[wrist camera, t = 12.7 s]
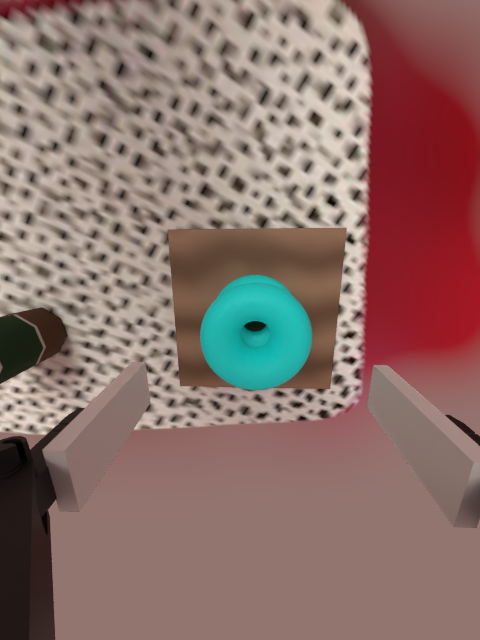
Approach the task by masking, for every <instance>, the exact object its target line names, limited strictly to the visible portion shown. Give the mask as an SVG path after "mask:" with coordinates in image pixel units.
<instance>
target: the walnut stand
mask: <svg viewBox="0 0 480 640" xmlns="http://www.w3.org/2000/svg"><path fill="white" fill-rule="evenodd" d="M346 230H347V228H283V229H182V230H168V237H169V250H170V263H171V275H172V288H173V300H174V313H175V326H176V338H177V351H178V363H179V376H180V386H207V387H236V386H234V385H231V384H229V383H227V382H226V381H224V380H223V379H221V378H220V377H219V376H218V375H217V374H216V373H215V372H214V371H213V370H212V369H211V368H210V366H209V365H208V363H207V361H206V359H205V357H204V355H203V352H202V348H201V342H200V331H201V325H202V321H203V318H204V316H205V314H206V312H207V310H208V308H209V307H210V305H211V304H212V303H213V302H214V301H215V300H216V299H217V297H218V295H219V294H220V292H221V291H222V290H223V289H224V288H225V287H226V286H227V285H228V284H229V283H231V282H232V281H234V280H236V279H238V278H240V277H243V276H248V275H263V276H267V277H270V278H273V279H275V280H277V281H279V282H280V283H281V284H283V285H284V286H285V287H286V288H287V289H288V290H289V291H290V293H291V294H292V296H294V297H295V298H296V299H297V300H298V301H299V303H300V304H301V305H302V306H303V308H304V309H305V311H306V313H307V315H308V317H309V320H310V323H311V328H312V345H311V350H310V353H309V356H308V358H307V360H306V362H305V364H304V365H303V367H302V368H301V369H300V371H299V372H298V373H297V374H296V375H295V376H294V377H292V378H291V379H290V380H288V381H287V382H285V383H283V384H281V385H279V386H276V387H274V388H310V389H330V384H331V375H332V365H333V355H334V346H335V336H336V326H337V317H338V307H339V297H340V288H341V278H342V268H343V259H344V249H345V240H346ZM265 326H266V324H264V323H263V322H260V321H252V322H248V323H247V324H245V325H244V327H245V328H246V329H248V330H250V331H260V330H262V329H263V328H264V327H265Z"/></svg>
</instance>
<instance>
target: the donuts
mask: <svg viewBox="0 0 480 640" xmlns="http://www.w3.org/2000/svg"><path fill="white" fill-rule="evenodd" d="M252 321H260V322H263V323H264V324H266V326H265V327H264V328H263V329H262V330H260V331H250V330H248V329H246V328H245V327H244V325H245V324H247V323H248V322H252ZM200 342H201V348H202V352H203V355H204V357H205V359H206V361H207V363H208V365H209V366H210V368H211V369H212V370H213V371H214V372H215V373H216V374H217V375H218V376H219V377H220V378H221V379H223V380H224V381H226V382H227V383H229V384H231V385H234V386H236V387H239V388H243V389H248V390H265V389H270V388H274V387H276V386H279V385H281V384H283V383H285V382H287V381H288V380H290V379H291V378H292V377H294V376H295V375H296V374H297V373H298V372H299V371H300V369H301V368H302V367H303V365H304V364H305V362H306V360H307V358H308V356H309V353H310V350H311V345H312V328H311V323H310V320H309V317H308V315H307V313H306V311H305V309H304V308H303V306H302V305H301V304H300V303H299V301H298V300H297V299H296V298H295V297H294V296H292V294H291V293H290V291H289V290H288V289H287V288H286V287H285V286H284V285H283V284H281V283H280V282H279V281H277V280H275V279H273V278H270V277H267V276H263V275H248V276H243V277H240V278H238V279H236V280H234V281H232V282H231V283H229V284H228V285H227V286H226V287H225V288H224V289H223V290H222V291H221V292H220V294H219V295H218V297H217V299H216V300H215V301H214V302H213V303H212V304H211V305H210V307H209V308H208V310H207V312H206V314H205V316H204V318H203V321H202V325H201V331H200Z"/></svg>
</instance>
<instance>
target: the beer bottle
mask: <svg viewBox="0 0 480 640" xmlns="http://www.w3.org/2000/svg"><path fill="white" fill-rule="evenodd" d="M66 337H67V334H66V331H65V329H64V326H63V324H62V321H61V319H60V318H59V317H57V316H55V315H54V314H52V313H50V312H49V311H47V310H45V309H44V308H37V309H33V310H28V311H23V312H18V313H13V314H9V315H6V316H2V317H0V384H1V383H3V382H4V381H6V380H8V379H10V378H12V377H14V376H16V375H18V374H19V373H21V372H23V371H25V370H27V369H29V368H31V367H32V366H34V365H36V364H38V363H40V362H42V361H44V360H46V359H47V358H49V357H51V356H53V355H54V354H56V353H58V352H59V351H60V350H61V347H62V345H63V343H64V341H65V339H66Z"/></svg>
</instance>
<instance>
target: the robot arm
mask: <svg viewBox="0 0 480 640" xmlns="http://www.w3.org/2000/svg"><path fill="white" fill-rule="evenodd" d="M149 404H150V396H149V388H148V380H147V372H146V364H145V362H132V363H131V364H130V365H129V366H128V367H127V368H126V369H125V370H124V371H123V372H122V373H121V374H120V375H119V376H118V377H117V378H116V379H115V380H114V381H112V382H111V383H110V384H109V385H108V386H107V387H106V388H105V389H104V390H103V391H102V392H101V393H100V394H99V395H98V396H97V397H96V398H95V399H94V400H93V401H92V402H91V403H90V404H89V405H88V406H87V407H86V408H79V409H77V410H76V411H74V412H72V413H71V414H69V415H68V416H66V417H65V418H64V419H63V420H62V421H61V422H60V423H59V425H57V426H56V427H54V428H53V429H52V431H51V432H49V433H48V434H47V435H46V436H45V437H44V438H43V439H41V440H40V441H39V442H38V443H37V444H36V445H35V446H34V447H33V448H32V449H31V450H30V449H29V445H28V442H27V440H26V438H24V437H21V436H15V437H9V438H5V439H2V440H0V640H55V625H54V602H53V580H52V557H51V537H50V536H51V534H50V516H49V512H48V509H49V508H50V506H51V505H52V504H53V502H54V501H55V500H56V501H57V504H58V508H59V511H66V512H80V511H81V509H82V508H83V506H84V505H85V503H86V502H87V500H88V499H89V497H90V496H91V494H92V492H93V491H94V489H95V488H96V486H97V485H98V483H99V482H100V480H101V478H102V477H103V475H104V474H105V472H106V471H107V469H108V467H109V466H110V465H111V463H112V461H113V460H114V458H115V457H116V455H117V453H118V452H119V451H120V449H121V448H122V446H123V444H124V443H125V441H126V440H127V438H128V437H129V435H130V434H131V432H132V430H133V429H134V427H135V426H136V424H137V423H138V421H139V420H140V418H141V416H142V415H143V413H144V412H145V410H146V409H147V407H148V406H149ZM367 408H368V409H369V411H370V412H371V414H372V415H373V416H374V418H375V419H376V421H377V422H378V423H379V425H380V426H381V427H382V429H383V430H384V432H385V433H386V434H387V436H388V437H389V438H390V440H391V441H392V443H393V444H394V446H395V447H396V448H397V450H398V451H399V452H400V454H401V455H402V457H403V458H404V459H405V461H406V462H407V464H408V465H409V466H410V468H411V469H412V471H413V472H414V473H415V475H416V476H417V478H418V479H419V480H420V482H421V483H422V484H423V486H424V487H425V489H426V490H427V491H428V493H429V494H430V496H431V497H432V498H433V500H434V501H435V502H436V504H437V505H438V507H439V508H440V509H441V511H442V512H443V514H444V515H445V516H446V518H447V519H448V521H449V522H450V523H451V524H452V526H453V527H466V528H476V527H477V524H478V522H479V519H480V436H478V435H477V434H475V432H474V431H472V430H471V429H470V428H469V427H468V426H466V425H465V424H464V423H462V422H461V421H459V420H457V419H455V418H453V417H452V416H450V415H444V414H443V413H441V412H440V411H439V410H438V409H437V408H436V407H435V406H433V405H432V404H431V403H430V402H429V401H428V400H427V399H425V398H424V397H423V396H422V395H421V394H420V393H418V392H417V391H416V390H415V389H414V388H413V387H412V386H410V385H409V384H408V383H407V382H406V381H405V380H404V379H402V378H401V377H400V376H399V375H398V374H396V373H395V372H394V371H393V370H392V369H391V368H390V367H389V366H387V365H374V366H373V372H372V379H371V385H370V391H369V398H368V404H367Z"/></svg>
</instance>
